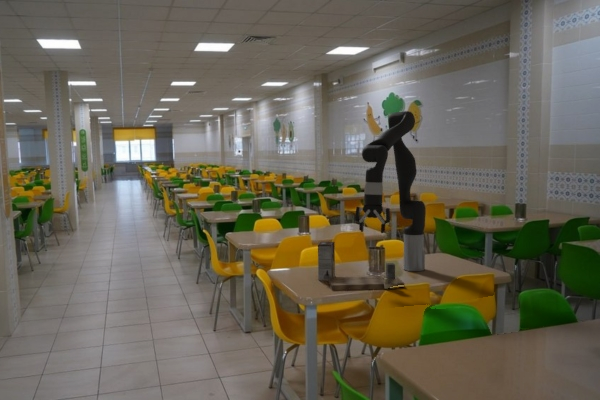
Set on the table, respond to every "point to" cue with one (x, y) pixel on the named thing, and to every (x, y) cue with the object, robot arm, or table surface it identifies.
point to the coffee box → (326, 260)
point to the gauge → (389, 276)
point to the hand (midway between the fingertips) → (372, 232)
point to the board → (359, 282)
